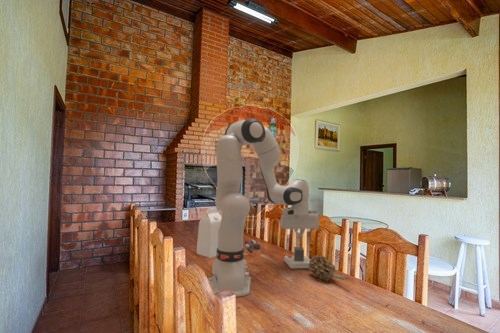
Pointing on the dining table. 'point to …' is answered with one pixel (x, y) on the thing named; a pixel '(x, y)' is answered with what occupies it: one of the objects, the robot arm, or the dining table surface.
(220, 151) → the robot arm
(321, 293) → the dining table surface
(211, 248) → the milk
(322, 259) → the pine cone
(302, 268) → the socket
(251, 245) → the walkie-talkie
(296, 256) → the plug
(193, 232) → the dining table surface
